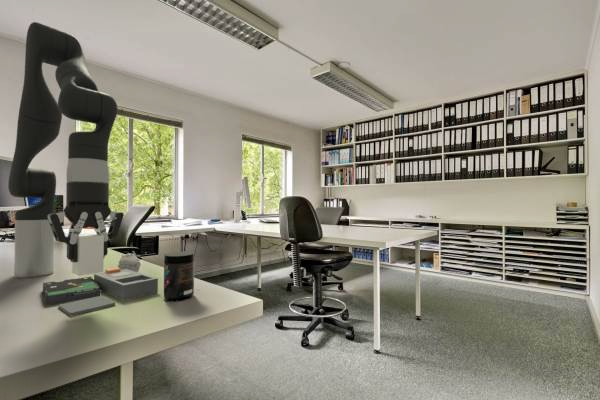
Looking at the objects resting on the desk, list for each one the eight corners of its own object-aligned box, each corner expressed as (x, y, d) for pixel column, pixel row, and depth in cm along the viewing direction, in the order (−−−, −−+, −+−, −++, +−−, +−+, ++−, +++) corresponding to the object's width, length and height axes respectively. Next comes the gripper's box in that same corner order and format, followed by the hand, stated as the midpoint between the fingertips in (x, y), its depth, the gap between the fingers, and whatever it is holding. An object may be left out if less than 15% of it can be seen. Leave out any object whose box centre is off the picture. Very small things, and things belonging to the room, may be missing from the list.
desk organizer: (85, 283, 83) (85, 268, 83) (117, 277, 89) (117, 263, 89) (123, 300, 68) (123, 281, 68) (157, 292, 75) (157, 275, 75)
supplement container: (178, 292, 75) (178, 250, 75) (200, 295, 73) (200, 252, 73) (156, 300, 69) (157, 255, 69) (179, 303, 66) (179, 257, 67)
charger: (71, 272, 64) (72, 235, 64) (95, 269, 68) (96, 234, 68) (78, 275, 61) (79, 237, 62) (103, 272, 65) (103, 235, 65)
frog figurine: (136, 273, 95) (136, 251, 96) (144, 276, 91) (144, 253, 91) (114, 276, 91) (115, 253, 91) (121, 280, 86) (121, 256, 86)
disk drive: (41, 294, 76) (45, 308, 65) (41, 282, 76) (45, 295, 65) (91, 286, 83) (101, 297, 72) (91, 276, 83) (101, 286, 72)
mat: (58, 307, 64) (58, 304, 64) (100, 298, 70) (100, 295, 70) (70, 316, 59) (70, 313, 59) (115, 305, 65) (115, 302, 65)
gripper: (117, 183, 73) (116, 253, 73) (41, 180, 61) (40, 263, 61) (130, 182, 68) (130, 257, 68) (51, 178, 57) (50, 267, 57)
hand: (87, 259), depth 65 cm, fingers closed on charger, 4 cm apart
